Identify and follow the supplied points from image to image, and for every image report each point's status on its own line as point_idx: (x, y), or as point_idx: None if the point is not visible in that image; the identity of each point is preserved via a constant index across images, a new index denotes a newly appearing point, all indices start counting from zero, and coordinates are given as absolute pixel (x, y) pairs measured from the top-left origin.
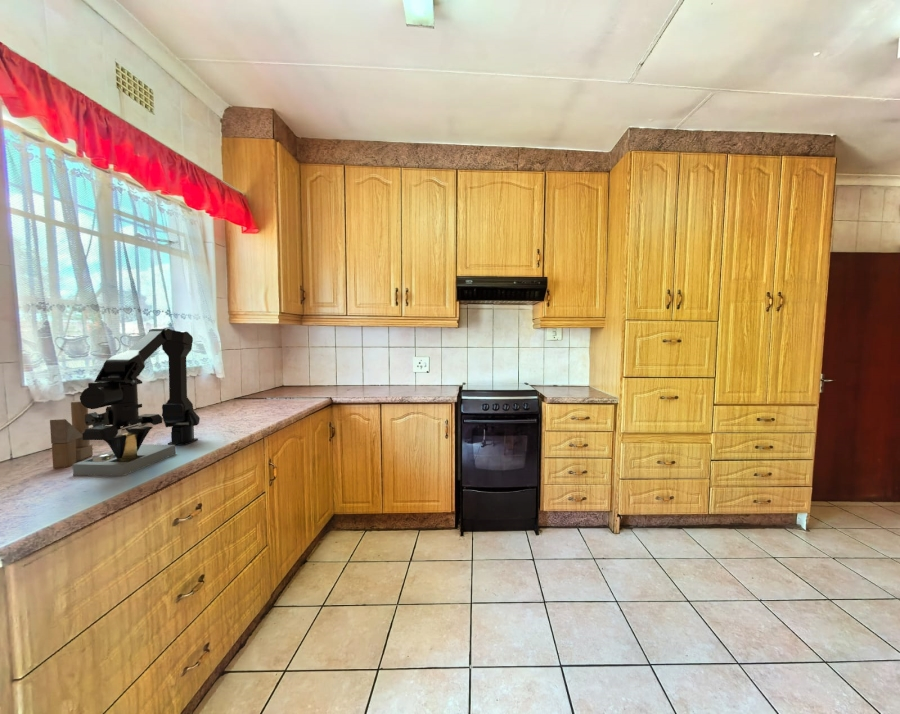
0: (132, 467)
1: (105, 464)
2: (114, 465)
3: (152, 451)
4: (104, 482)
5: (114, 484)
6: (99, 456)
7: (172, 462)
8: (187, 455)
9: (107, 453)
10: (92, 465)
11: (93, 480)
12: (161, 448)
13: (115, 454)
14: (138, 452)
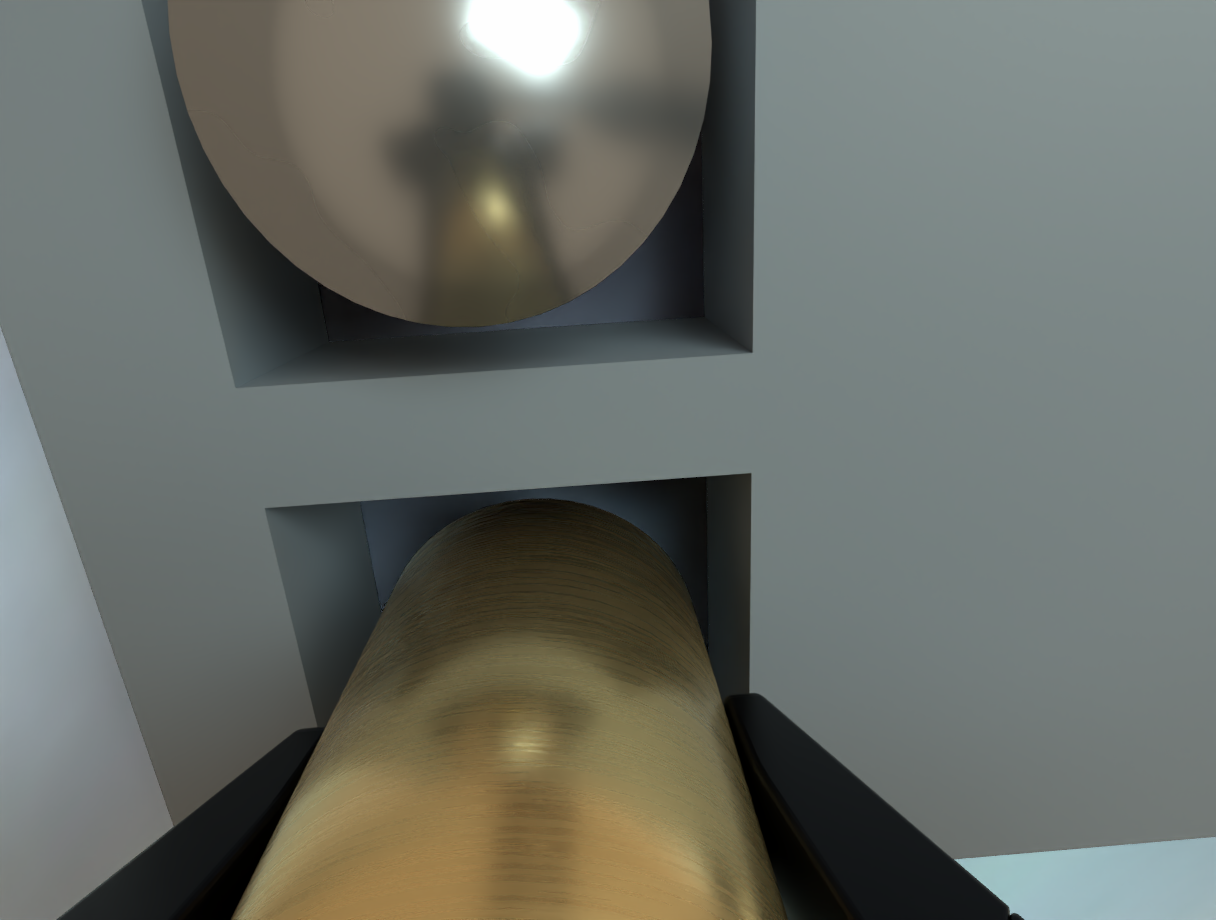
0: None
1: (126, 613)
2: (167, 796)
3: (998, 768)
4: (40, 748)
5: (47, 906)
6: (305, 80)
7: None
8: (1134, 878)
9: (606, 32)
10: (20, 329)
11: (25, 535)
12: (1198, 767)
13: (217, 818)
14: (946, 556)
